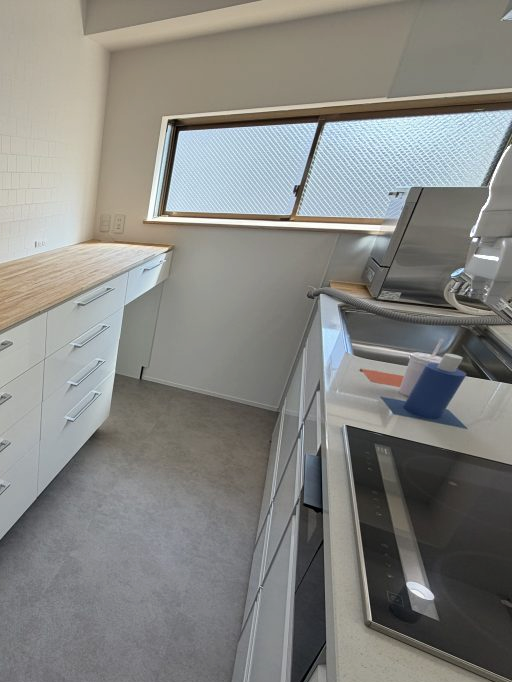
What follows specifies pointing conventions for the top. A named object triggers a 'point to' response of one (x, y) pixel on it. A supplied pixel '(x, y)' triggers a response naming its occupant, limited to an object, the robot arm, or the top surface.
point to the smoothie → (417, 368)
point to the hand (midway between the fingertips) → (482, 301)
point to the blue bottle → (435, 387)
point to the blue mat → (398, 409)
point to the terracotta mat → (383, 377)
